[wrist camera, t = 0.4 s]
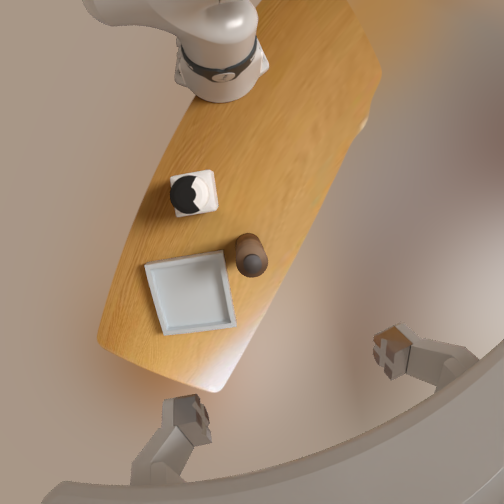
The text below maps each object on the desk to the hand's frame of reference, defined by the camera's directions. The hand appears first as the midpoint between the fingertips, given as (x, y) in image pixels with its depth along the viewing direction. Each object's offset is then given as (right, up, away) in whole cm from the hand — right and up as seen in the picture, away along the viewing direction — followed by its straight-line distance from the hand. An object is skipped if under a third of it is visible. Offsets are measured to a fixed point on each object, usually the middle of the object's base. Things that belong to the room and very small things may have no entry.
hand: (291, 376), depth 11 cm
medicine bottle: (-12, +17, +42) cm, 47 cm away
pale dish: (-14, -3, +47) cm, 49 cm away
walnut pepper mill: (-2, +7, +45) cm, 46 cm away
